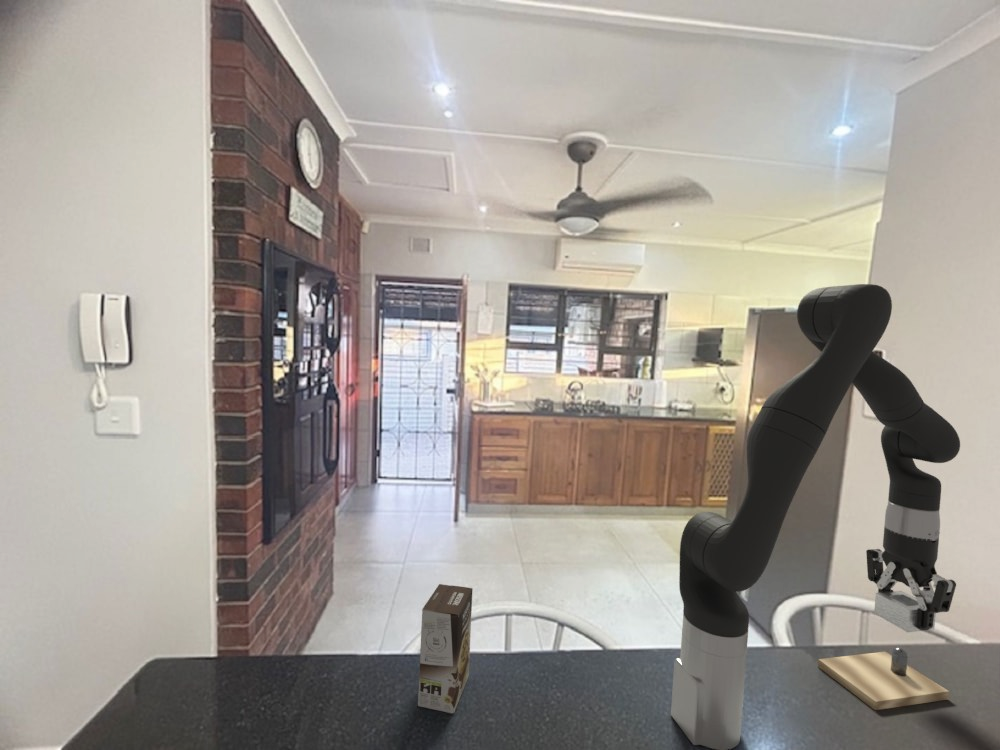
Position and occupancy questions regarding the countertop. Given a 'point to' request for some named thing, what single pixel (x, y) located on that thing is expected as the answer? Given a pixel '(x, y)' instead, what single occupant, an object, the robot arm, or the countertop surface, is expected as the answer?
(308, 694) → the countertop surface
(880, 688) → the plate
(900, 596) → the steel link
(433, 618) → the coffee box
